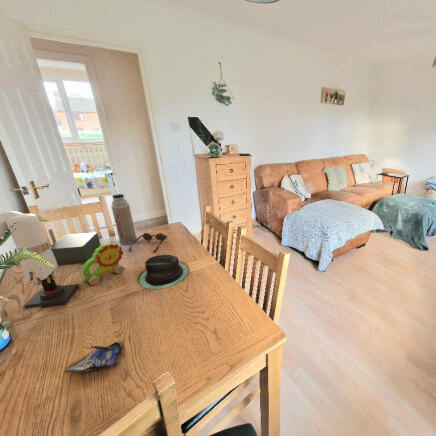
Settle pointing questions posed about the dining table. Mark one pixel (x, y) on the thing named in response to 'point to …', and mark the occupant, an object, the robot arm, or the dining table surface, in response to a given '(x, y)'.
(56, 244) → the dark green box
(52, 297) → the control block
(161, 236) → the eyeglasses
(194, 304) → the dining table surface
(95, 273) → the toy lion
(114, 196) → the thermos bottle
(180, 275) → the black fedora hat
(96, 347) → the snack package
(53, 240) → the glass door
